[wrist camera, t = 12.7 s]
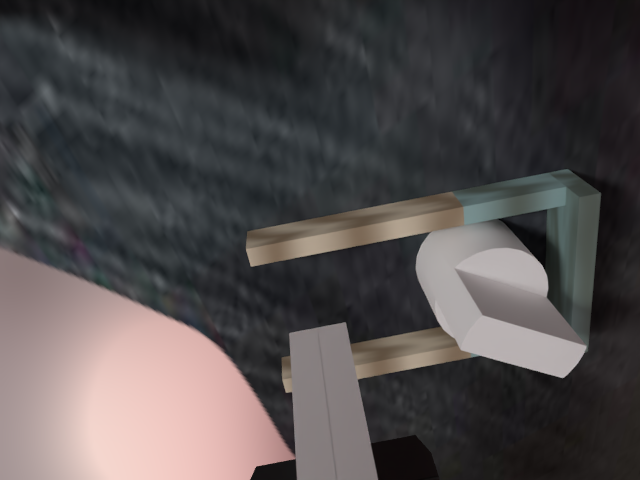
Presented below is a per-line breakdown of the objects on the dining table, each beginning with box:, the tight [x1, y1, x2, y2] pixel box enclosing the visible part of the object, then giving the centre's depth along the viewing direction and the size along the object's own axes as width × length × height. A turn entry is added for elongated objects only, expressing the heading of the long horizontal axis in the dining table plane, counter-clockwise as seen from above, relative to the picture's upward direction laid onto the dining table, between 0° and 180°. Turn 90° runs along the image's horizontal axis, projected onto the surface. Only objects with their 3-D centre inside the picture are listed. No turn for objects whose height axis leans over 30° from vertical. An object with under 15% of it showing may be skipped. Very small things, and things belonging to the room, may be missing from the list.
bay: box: [246, 169, 601, 393], centre depth 45 cm, size 27×15×5 cm, turn 100°
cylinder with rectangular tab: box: [416, 219, 587, 378], centre depth 42 cm, size 9×9×12 cm
